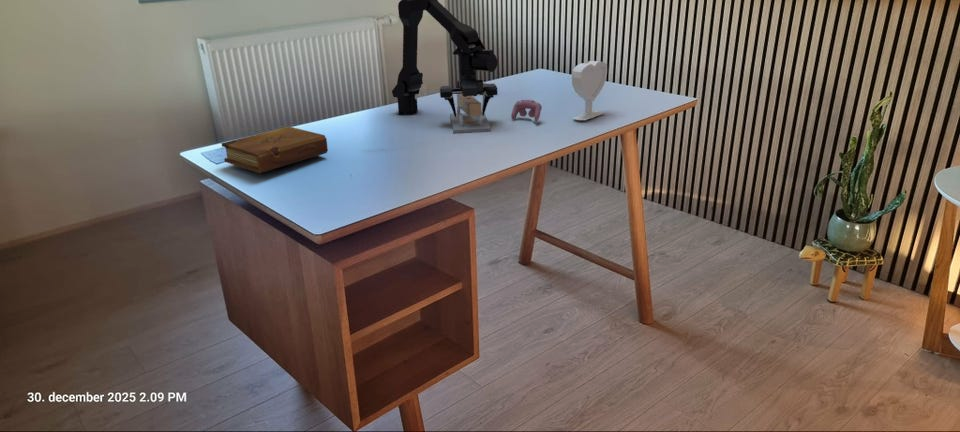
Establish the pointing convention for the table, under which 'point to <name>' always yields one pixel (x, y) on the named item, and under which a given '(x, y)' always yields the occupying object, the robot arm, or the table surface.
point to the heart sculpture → (589, 85)
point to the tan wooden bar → (469, 105)
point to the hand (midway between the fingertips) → (469, 116)
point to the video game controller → (527, 104)
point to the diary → (274, 149)
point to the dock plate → (469, 124)
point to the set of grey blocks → (461, 117)
